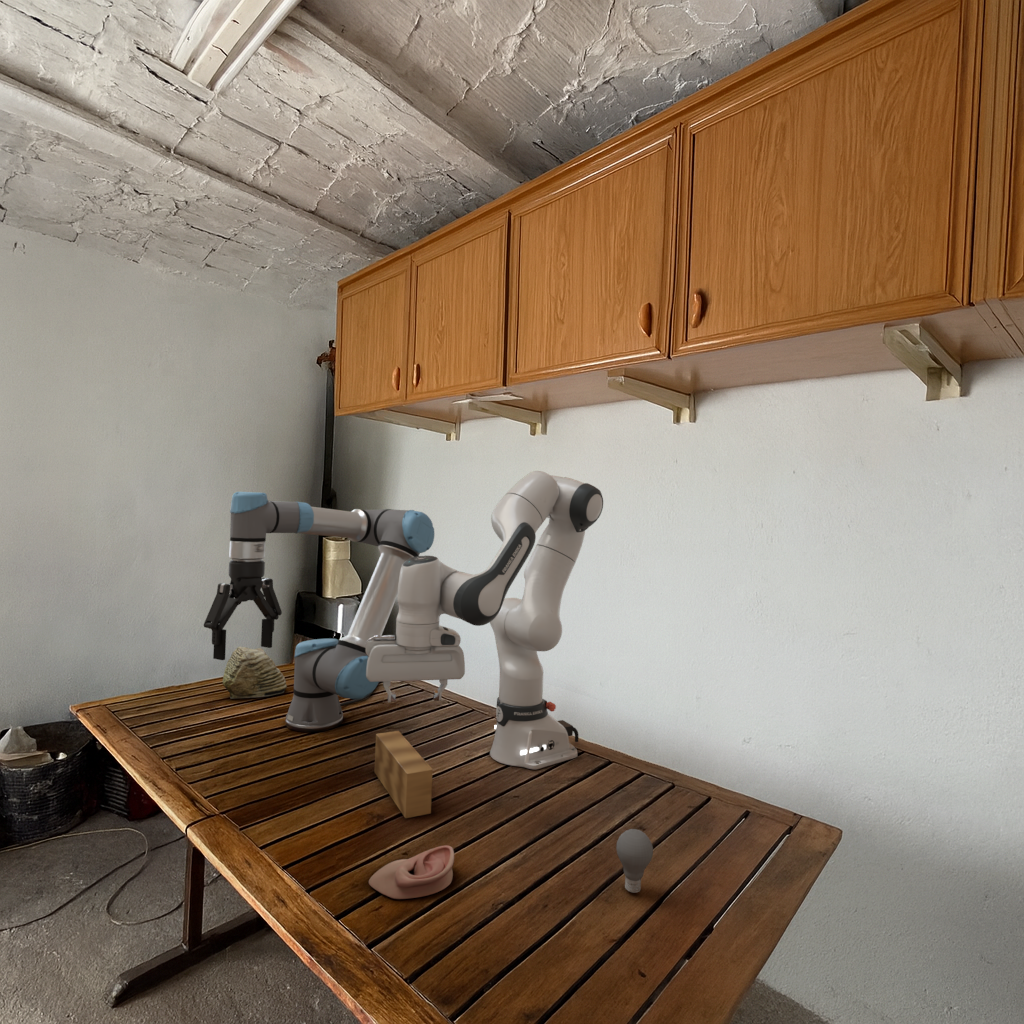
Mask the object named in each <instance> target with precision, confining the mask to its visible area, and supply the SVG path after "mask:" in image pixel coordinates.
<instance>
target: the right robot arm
mask: <svg viewBox="0 0 1024 1024" xmlns="http://www.w3.org/2000/svg"><path fill="white" fill-rule="evenodd" d="M603 509H604V497H603V494H602V491H601V490H600V489H599V488H598V487H596V486H594V485H592V484H590V483H588V482H582V481H579V480H577V479H574V478H571V477H566V476H564V477H563V476H559V475H551V474H549V473H547V472H545V471H542V470H533V471H530V472H529V473H527V474H526V475H525V476H522V478H521V479H520V480H518V481H517V482H516V483H515V484H514V485H513V486H512V487H511V488H510V489H509V490H508V491H507V492H506V493H505V494H504V495H503V496H502V498H501V499H500V500H498V503H497V504H496V506H495V507H494V509H493V511H492V512H491V516H490V522H491V526H492V529H493V532H494V533H495V535H496V536H497V537H498V539H499V540H500V541H501V542H502V544H501V547H500V548H499V550H498V551H497V552H496V554H495V555H494V557H493V559H492V560H491V561H490V563H489V565H488V566H487V567H486V569H485V570H483V571H482V572H479V573H475V574H473V573H467V572H463V571H459V570H457V569H455V568H452V567H450V566H448V565H446V564H445V563H444V562H442V561H441V560H440V559H439V557H437V556H435V555H419V556H417V557H413V558H410V559H408V560H406V561H405V562H404V563H403V565H402V567H401V570H400V575H399V582H398V595H397V598H396V601H397V604H398V611H397V612H398V613H397V615H396V619H395V622H396V624H395V634H385V635H383V634H382V635H381V636H380V635H374V637H372V638H370V639H368V640H367V642H366V648H365V652H366V655H367V656H368V660H367V667H366V678H367V679H368V680H369V681H370V682H379V683H382V686H383V689H384V690H385V692H386V693H387V703H388V704H390V703H391V704H392V703H396V698H397V694H396V692H395V691H391V688H390V687H391V683H392V682H412V681H413V682H415V681H439V686H438V688H437V689H435V690H433V691H432V692H433V693H432V694H433V696H432V697H433V698H432V699H433V701H434V702H439V701H442V696H443V695H442V694H443V692H444V691H445V689H446V687H448V680H461V679H462V678H463V677H464V676H465V674H466V662H465V653H464V651H463V649H462V647H461V640H462V638H461V635H460V634H459V632H457V631H456V630H455V629H453V628H450V627H446V626H443V625H440V617H441V615H448V616H449V617H453V618H456V619H460V620H462V621H464V622H466V623H468V624H470V625H472V626H477V627H480V626H485V625H487V624H490V626H491V629H492V632H493V635H494V640H495V645H496V646H495V647H496V651H497V657H498V658H497V659H498V666H499V676H498V677H499V678H498V680H499V681H498V682H499V683H498V697H497V698H496V707H495V708H496V709H495V721H496V724H494V725H493V726H494V728H493V729H494V730H495V731H494V736H493V741H492V745H491V748H490V750H489V756H490V758H491V759H493V760H494V761H496V762H498V763H500V764H504V765H507V766H511V767H521V768H526V769H529V770H539V769H543V768H546V767H549V766H552V765H555V764H559V763H563V762H566V761H570V760H572V759H576V758H578V757H579V755H578V750H577V748H576V747H575V746H574V745H573V744H572V743H571V742H570V737H572V736H573V735H574V742H575V743H578V742H579V732H578V731H579V730H578V729H577V728H576V727H574V726H573V724H571V723H569V722H567V721H565V720H563V719H561V720H556V719H555V718H554V717H553V716H552V715H551V714H550V713H549V711H550V712H554V711H556V709H557V705H556V703H554V702H552V701H547V700H546V699H544V698H543V696H544V695H543V694H544V692H543V691H544V668H543V665H542V663H541V661H540V658H539V655H538V652H549V651H551V650H553V649H554V648H555V647H556V646H557V645H558V644H559V642H561V641H560V640H561V638H562V635H563V625H562V622H561V621H562V620H561V617H560V615H561V604H562V598H563V595H564V590H565V588H566V586H567V583H568V581H569V578H570V576H571V574H572V572H573V569H574V568H575V564H576V562H577V560H578V558H579V555H580V553H581V549H582V546H583V543H584V541H585V540H584V539H585V536H586V535H585V534H586V531H587V530H588V529H589V528H590V527H591V526H593V525H594V524H595V523H596V522H597V521H598V519H599V518H600V517H601V514H602V513H603ZM546 519H548V524H547V525H546V527H545V528H544V530H543V531H542V533H541V535H540V537H539V539H538V540H537V543H536V537H537V536H536V533H537V531H538V530H539V529H540V527H541V526H542V525H543V524H544V522H545V521H546ZM535 543H536V545H535ZM534 546H535V547H534ZM533 548H534V549H533ZM531 552H532V554H531ZM530 555H531V556H530ZM529 556H530V558H529ZM528 558H529V560H528V562H527V564H526V566H525V568H524V571H523V577H524V590H523V595H522V598H519V597H506V596H507V594H508V591H509V590H510V588H511V586H512V584H513V582H514V581H515V579H516V578H517V576H518V574H519V573H520V571H521V569H522V568H523V566H524V564H525V563H526V561H527V559H528ZM372 639H373V640H372Z"/></svg>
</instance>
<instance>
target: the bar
mask: <svg viewBox="0 0 1024 1024" xmlns="http://www.w3.org/2000/svg"><path fill="white" fill-rule="evenodd" d="M373 772H374V774H375V775H376V777H377V778H378V780H379V782H380V783H381V784H382V786H383V787H384V789H385V791H386V792H387V793H388V795H389V796H390V798H391V800H392V801H393V802H394V804H395V806H396V807H397V808H398V810H399V811H400V813H401V814H402V816H403V817H404V819H411V818H415V817H419V816H425V815H429V814H432V797H433V796H432V795H433V773H434V770H433V768H432V767H431V765H429V763H428V762H426V761H425V759H424V758H423V756H421V754H420V753H419V752H418V751H417V750H416V749H415V747H413V745H412V744H411V743H410V742H409V741H408V740H407V739H406V737H405V736H404V734H402V733H401V732H400V731H399V730H394V731H387V732H380V733H375V749H374V771H373Z"/></svg>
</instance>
